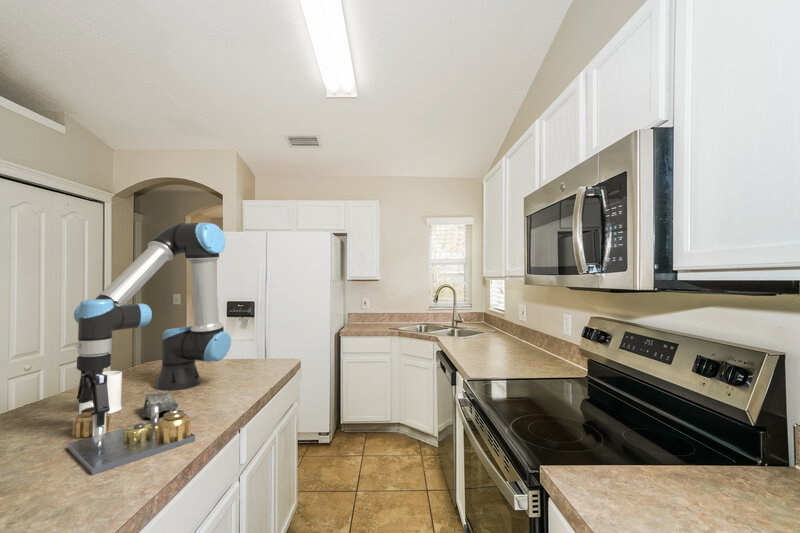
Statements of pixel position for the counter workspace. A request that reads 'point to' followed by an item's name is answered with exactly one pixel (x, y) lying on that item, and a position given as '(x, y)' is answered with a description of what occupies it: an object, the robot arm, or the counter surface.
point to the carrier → (133, 441)
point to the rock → (158, 402)
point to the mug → (113, 390)
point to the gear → (87, 423)
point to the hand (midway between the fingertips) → (91, 431)
